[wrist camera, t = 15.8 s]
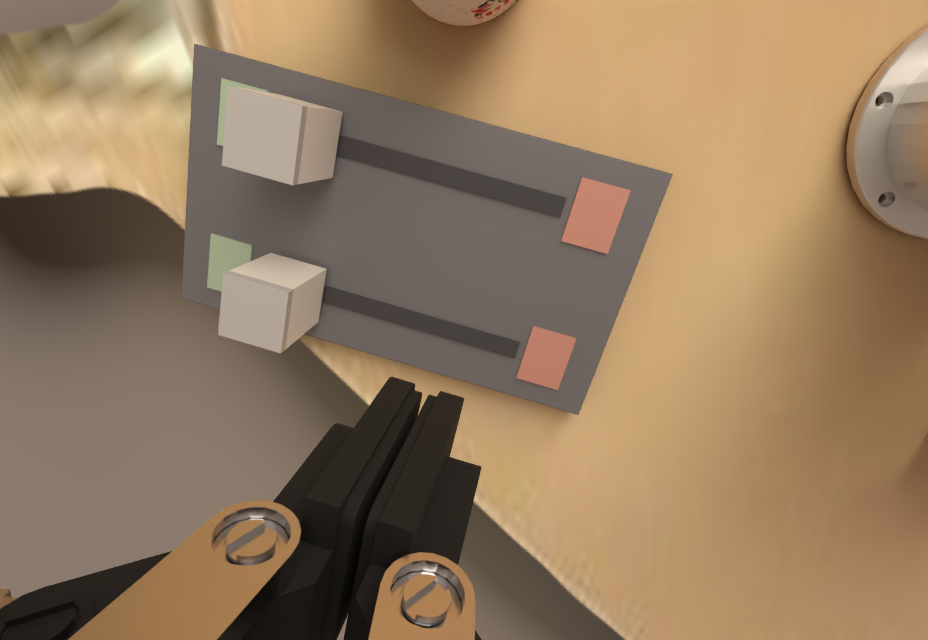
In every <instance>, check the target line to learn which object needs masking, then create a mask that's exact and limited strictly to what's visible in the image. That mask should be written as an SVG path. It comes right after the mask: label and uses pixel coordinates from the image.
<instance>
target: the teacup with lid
mask: <svg viewBox="0 0 928 640" xmlns="http://www.w3.org/2000/svg"><path fill="white" fill-rule="evenodd" d="M412 1H413V2H414V3H415V4H416V6H417V7H419V8H420V9H421V10H422V11H423V12H425V13H426V14H427V15H429V16H430V17H432V18H434V19H436V20H438V21H440V22H443V23H447V24H451V25H457V26H470V25H477V24H480V23H484V22H486V21H489V20H491V19H493V18H495V17H497V16H499V15H500V14H502V13H503V12H504V11H506V10H507V9H508V8H509V7H510V6H511V5H513V4H514V3H515V1H516V0H412Z"/></svg>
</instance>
